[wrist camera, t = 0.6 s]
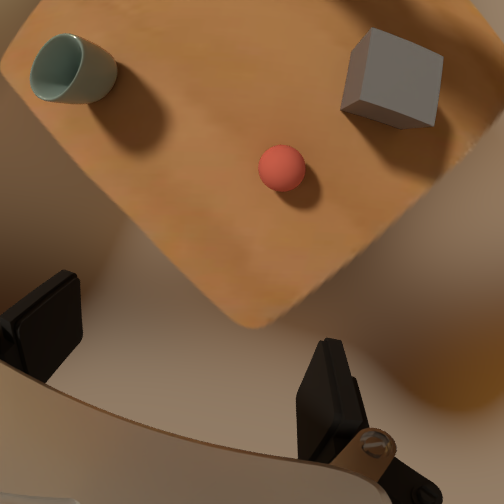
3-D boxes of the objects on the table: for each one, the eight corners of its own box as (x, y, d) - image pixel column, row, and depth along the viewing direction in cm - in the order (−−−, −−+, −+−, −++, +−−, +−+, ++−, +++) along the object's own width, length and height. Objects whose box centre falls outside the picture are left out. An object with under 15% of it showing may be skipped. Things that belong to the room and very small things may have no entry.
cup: (104, 116, 34) (58, 113, 25) (67, 92, 33) (20, 86, 24) (137, 64, 32) (96, 45, 22) (97, 43, 31) (53, 24, 21)
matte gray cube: (351, 51, 30) (371, 27, 21) (410, 72, 30) (443, 56, 21) (340, 110, 32) (359, 99, 24) (400, 129, 32) (433, 126, 24)
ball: (264, 141, 34) (262, 140, 30) (307, 150, 34) (312, 151, 29) (255, 183, 36) (252, 188, 31) (298, 192, 36) (301, 199, 31)
